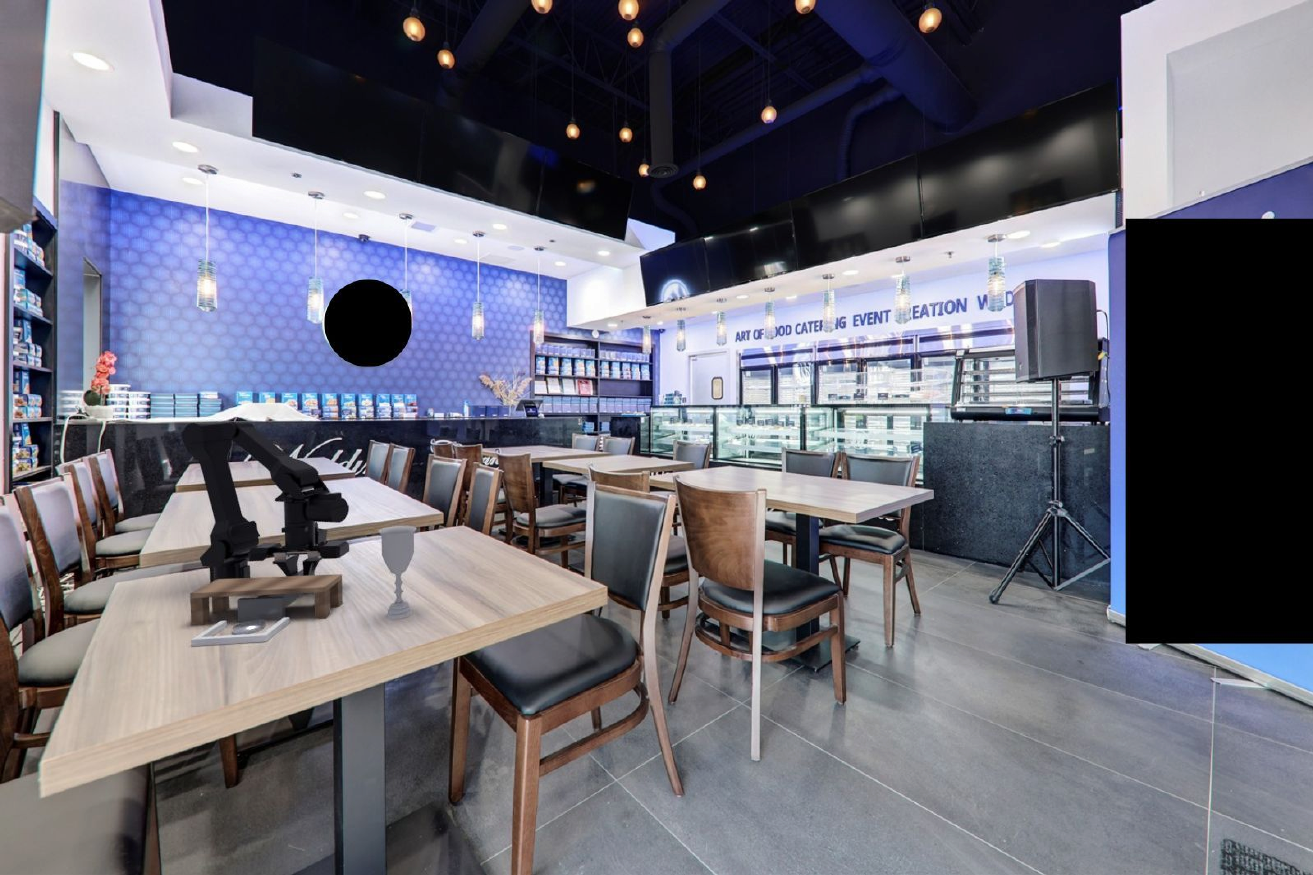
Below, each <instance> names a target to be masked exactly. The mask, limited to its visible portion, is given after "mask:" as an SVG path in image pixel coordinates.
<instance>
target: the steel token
mask: <svg viewBox="0 0 1313 875" xmlns="http://www.w3.org/2000/svg"><path fill="white" fill-rule="evenodd" d="M266 622H267V621H265V620H262V619H255V620H249V621H245V622H238V623H237V624H235V625H234V626H232V635H243V634H256V633H258V632H260V631H263V629H265V628H266V627H267V625H266Z"/></svg>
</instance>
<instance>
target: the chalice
mask: <svg viewBox="0 0 1313 875" xmlns="http://www.w3.org/2000/svg"><path fill="white" fill-rule="evenodd" d="M416 531H417V527H416V526H411V525H395V526H387V527H383V528H380V529H379V530H378V533H379V535H380V536H381V537H380V538H381V557H382V559H383V561H384V563H385V565H386V567H387V568H388V570H389V572H390V573H391V574H392V575H395V581H394V585H395V588H396V589H395V591H393V593H394V594H395V597H396V598H395V600H394V602H393V603H391V604H390V606H388V607H389V608H388V609H387V613H386V614H385V618H386V619H387V620H400V619H404V618H407V617H408V618H409V616H411V615H412V614H413V610H412V609H411V606H410V604H409V603H408V601H406V600H403V598H402V594H403V593H404V590H403V588H402V586H403V585H402V584H404V582H403V580H402V574H403V573H405V572H406V571H407V570H408V568H409V566H410V564H411V561H412V559H413V557H414V554H415V535H414V534H415V533H416Z"/></svg>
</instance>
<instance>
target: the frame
mask: <svg viewBox="0 0 1313 875" xmlns="http://www.w3.org/2000/svg"><path fill="white" fill-rule="evenodd" d="M289 624H290V617H288V616H287V617H286V616H285V618H282V619H281V620H277V622H276V623H274V624H273V625H272V626H270V627H269V628H267V630H265V631H264V632H262V633H252V634H243V635H234V634H230V635H229V634H228V635H216V634H218V633H220V632H221V631H223V630H225V628H227V627H228V622H227V620H220V621H219V622H217V623H215V624H214V625H212V626H210V627H209V628H207V629H205V630H204V631H203V632H201V633H200V634H198V635H197V636H195V637H193V638H192V639H191V640H190V642H191V643H190V645H191V647H200V646H202V647H203V646H216V645H217V646H219V645H232V644H234V645H236V644H237V645H238V644H249V643H266V642H268V641H269V640H270V639H271V638H272V637H274V636H275V635H277V634H278V633H279V632H280V631H282V630H283V629H284V628H285V627H286V626H288V625H289Z"/></svg>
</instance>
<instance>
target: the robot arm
mask: <svg viewBox="0 0 1313 875" xmlns="http://www.w3.org/2000/svg"><path fill="white" fill-rule="evenodd" d="M181 439H182V443H183V444H184V447H185V449H186V451H187V453H189V454H190V456H191V457H193V458H194V459H195V460H196V461H198V463H199V466H200V469H201V472H202V478H203V480H204V484H205V485H204V486H205V488H206V492H207V496H208V499H209V503H210V504H209V505H210V507H211V512H212V514H213V518H214V525H213V528H212V530H211V532H210V535H209V541H210V546H209V547H208V549H206V550H205V552H204V553H203V554H202V555H201V556H200V557H199V559H200V560H199V561H200V562H201V563H200V564H201V566H202V567H204V568H205V567H206V568H209V583H211V582H213V581H215V580H217V579H237V578H251V565H250V564H248V563H249V562H263V561H265V560H266V559H268V558H269V556H273V557H274V558H273V559H274V560H273V561H272V565H276V566H277V567H279V569H280V570H281V572H283V574H284V575H285V577H286V576H293V575H294V574H296V573H297V572H299V568H298V561H299V557H300V556H301V555H307V558H305V559H304V560H302V569H303V576H311V575H313V574H314V572H315V573H316V570H317V567H318V565H319V563H320V561H322V560H331V559H332V560H333V559H340V558H342V557H343V556H344V555H346V554H347V553H349V552H350V544H349V542H347V540H330V541H328V542H327V537H328V529H326V528H322V527H321V528H319V523H333V524H334V523H335V524H336V523H338V524H341V523H342V522H343V521H345V520H346V518H347V517H348V514H349V512H350V511H349V510H350V506H349V504H348V501H347V500H346V499H345V498H344V497H342V496H343V495H342V494H343V493H342V492H341V491H340V492H338V491H337V492H336V491H335V492H331V490H330V489H329V487H327V485H326V484H325V482H324V480H323V479H322V478H321V477H320V475H319V471H318V469H316V468H315V467H314V466H312V464H311V465H310V464H309V463H308V462H306V461H304V460H300V459H298V458H295V457H291V456H290V455H288V454H287V453H286V452H284V451H283V450H282V449H281V448H279V447H278V446H277V445H276V444H274V442H272V441H271V440H270V439H268V437H266V436H265V435H264V434H263V433H261V432H260V431H259V430H258V429H256V428H255V425H254V424H253V423H252V422H250V421H247V420H246V421H245V420H244V421H243V420H240V421H228V422H225V423H223V422H219V421H217V422H216V421H213V422H211V421H210V422H191V423H188V424H186V426H184V429H183V430H181ZM233 443H235V444H236V445H238V446H239V447H240V448H241V449H242V450H244V451H245V452H246V453H247V454H248V455H250V456H251V457H252V458H253V459H254V460H256V462H258V463H259V464H260V465H262V466H263V467H264V468H265V469H266V470H268V472H269V474H270V480H271V482H273V483H274V485H275V486H276V487H277V488H278V489H279V490H280V491H281V493H280V495H279V494H278V496H276V497H275V499H274V502H276V503H278V502H279V503H283V514H284V515H283V517H284V527H281V533H284V545H282V544H281V542H262V543H261V544H260V539H259V537H261V533H259V530H258V525H257V522H256V521H255V520H248V519H247V518H246V517H244V516H243V513H242V510H241V506H240V501H239V497H238V494H237V490H236V489H237V488H236V486H235V483H234V478H233V475H232V472H231V467H230V463H229V459H228V457H229V455H230V454H229V453H230V452H231V449H232V448H233V447H232V446H233ZM319 544H323V545H319ZM248 561H249V562H248Z"/></svg>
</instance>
